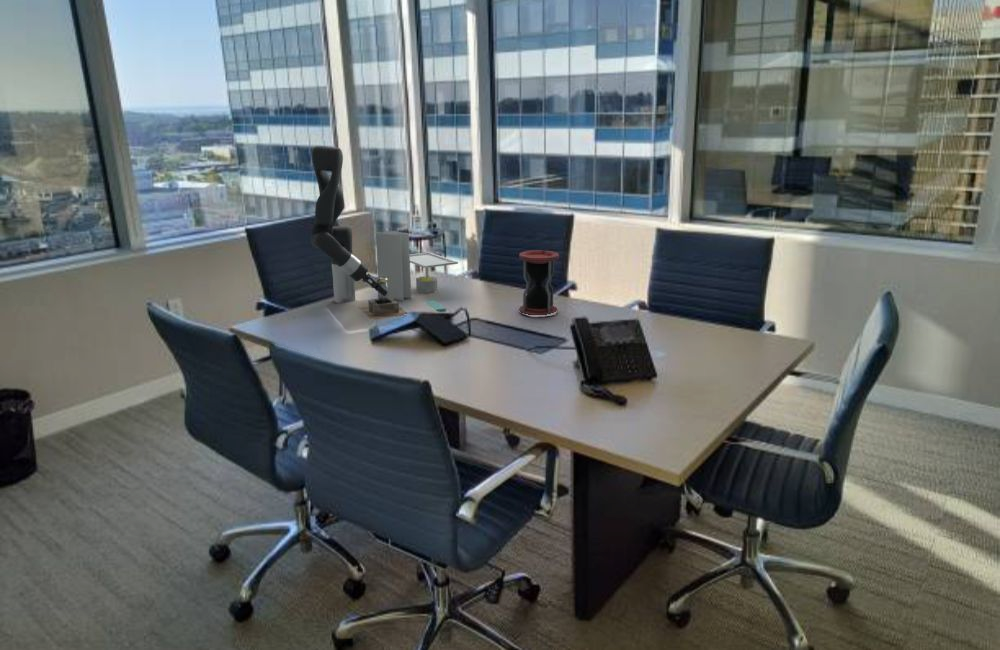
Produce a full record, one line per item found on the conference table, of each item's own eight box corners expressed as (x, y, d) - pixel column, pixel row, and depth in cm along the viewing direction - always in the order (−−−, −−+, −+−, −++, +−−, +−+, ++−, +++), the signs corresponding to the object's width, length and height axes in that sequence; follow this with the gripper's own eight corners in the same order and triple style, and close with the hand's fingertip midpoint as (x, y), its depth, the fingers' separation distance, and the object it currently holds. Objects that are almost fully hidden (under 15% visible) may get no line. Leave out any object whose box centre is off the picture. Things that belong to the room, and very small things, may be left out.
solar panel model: (458, 293, 318) (457, 261, 314) (425, 298, 309) (424, 266, 305) (429, 281, 340) (429, 251, 336) (398, 286, 331) (397, 255, 326)
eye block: (359, 309, 292) (358, 298, 290) (395, 305, 298) (394, 293, 297) (371, 322, 275) (370, 309, 273) (409, 317, 281) (409, 305, 280)
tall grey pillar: (411, 300, 307) (408, 233, 298) (403, 303, 302) (400, 235, 293) (387, 295, 314) (384, 230, 305) (379, 298, 310) (375, 232, 301)
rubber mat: (408, 305, 298) (408, 303, 297) (434, 302, 303) (434, 300, 302) (419, 314, 286) (418, 311, 285) (446, 310, 291) (445, 308, 290)
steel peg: (377, 310, 287) (375, 277, 283) (387, 308, 289) (385, 276, 285) (380, 312, 283) (378, 279, 279) (390, 311, 285) (388, 278, 281)
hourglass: (565, 313, 286) (567, 254, 279) (534, 320, 277) (535, 259, 270) (541, 305, 299) (542, 248, 291) (511, 311, 290) (511, 252, 283)
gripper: (364, 263, 270) (393, 288, 278) (355, 257, 282) (384, 281, 290) (351, 278, 269) (381, 303, 277) (343, 270, 281) (372, 295, 289)
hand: (382, 291), depth 284 cm, fingers open, 8 cm apart
